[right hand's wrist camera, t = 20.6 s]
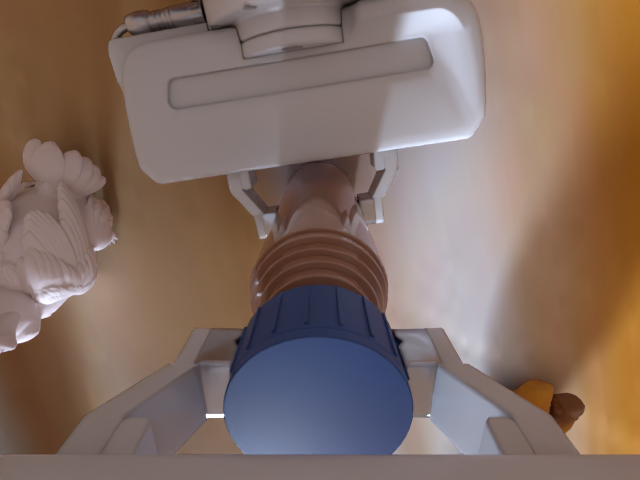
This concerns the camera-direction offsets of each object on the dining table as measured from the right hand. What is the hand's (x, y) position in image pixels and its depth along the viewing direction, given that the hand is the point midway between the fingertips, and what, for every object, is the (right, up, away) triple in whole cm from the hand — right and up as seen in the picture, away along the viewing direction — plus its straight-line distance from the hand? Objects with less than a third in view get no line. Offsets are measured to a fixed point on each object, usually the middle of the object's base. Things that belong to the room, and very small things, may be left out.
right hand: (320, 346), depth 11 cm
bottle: (0, +7, +18) cm, 19 cm away
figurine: (-20, +4, +19) cm, 28 cm away
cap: (0, -1, -2) cm, 2 cm away
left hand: (0, +4, +13) cm, 14 cm away
